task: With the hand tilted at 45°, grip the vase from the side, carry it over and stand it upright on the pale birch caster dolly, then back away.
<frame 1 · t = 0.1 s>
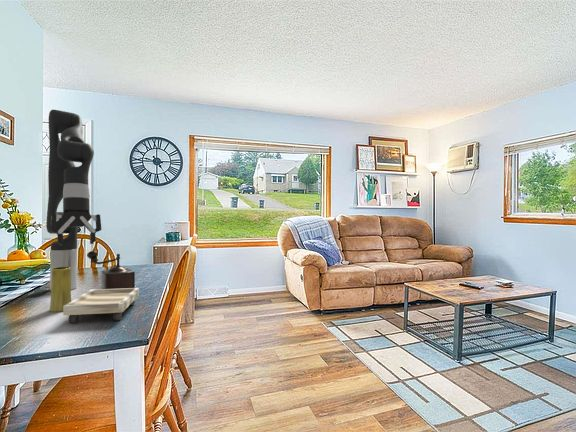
hand: (76, 244, 104), 22 cm above the table, tool pointing down, fingers open, 8 cm apart
coffee grinder: (110, 294, 124), on the table
caster dolly: (105, 313, 101), on the table
vase: (60, 309, 104), on the table
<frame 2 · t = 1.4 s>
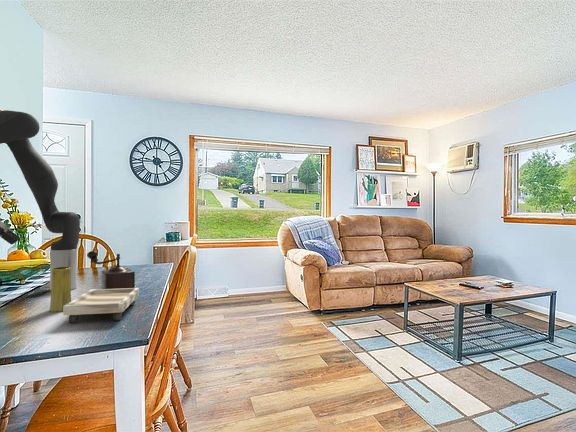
hand: (16, 241, 97), 24 cm above the table, tool tilted 45°, fingers open, 8 cm apart
nothing on the table moved.
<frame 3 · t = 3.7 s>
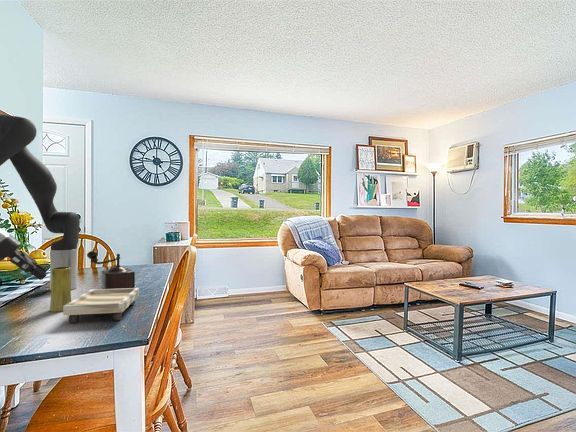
hand: (44, 275, 101), 12 cm above the table, tool tilted 45°, fingers open, 8 cm apart
nothing on the table moved.
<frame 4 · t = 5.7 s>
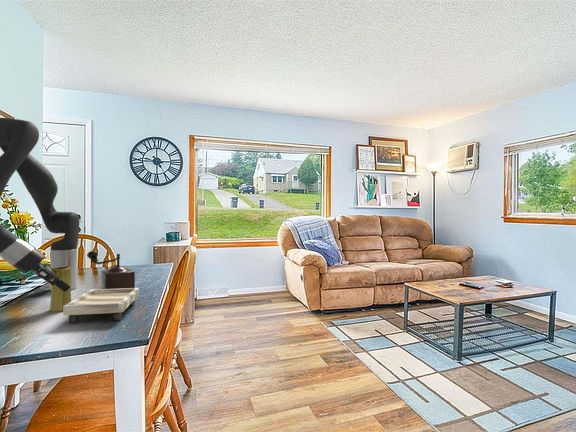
hand: (67, 287, 105), 7 cm above the table, tool tilted 45°, fingers closed on vase, 5 cm apart
vase: (60, 309, 104), on the table, touching gripper
everything else where it was.
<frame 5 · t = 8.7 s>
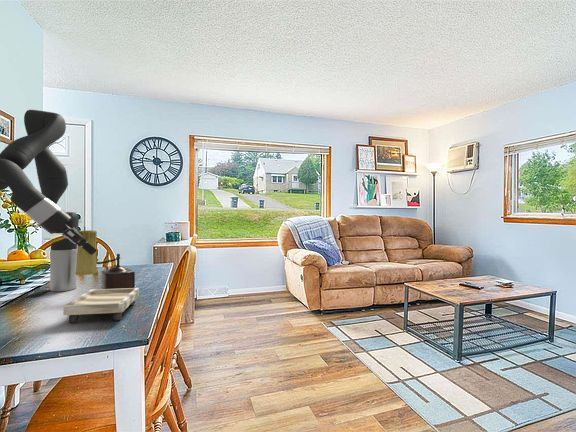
hand: (93, 251, 102), 20 cm above the table, tool tilted 45°, fingers closed on vase, 5 cm apart
vase: (86, 274, 101), point 13 cm above the table, touching gripper
everything else where it was.
when the fingers open (13 cm above the table, at t = 11.5 s): vase stays where it is, resting on caster dolly.
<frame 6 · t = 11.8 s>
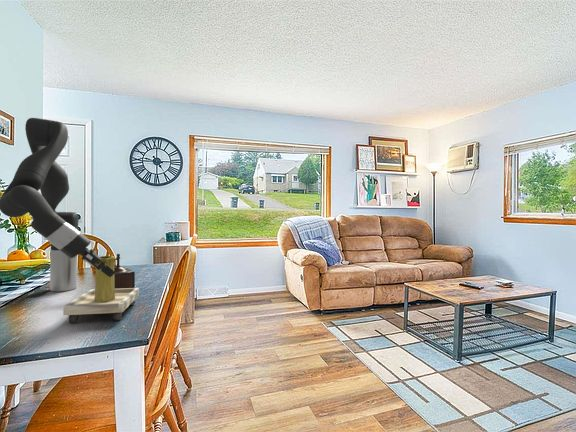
hand: (110, 272, 102), 13 cm above the table, tool tilted 45°, fingers open, 8 cm apart
vase: (104, 300, 101), point 4 cm above the table, touching caster dolly
everything else where it was.
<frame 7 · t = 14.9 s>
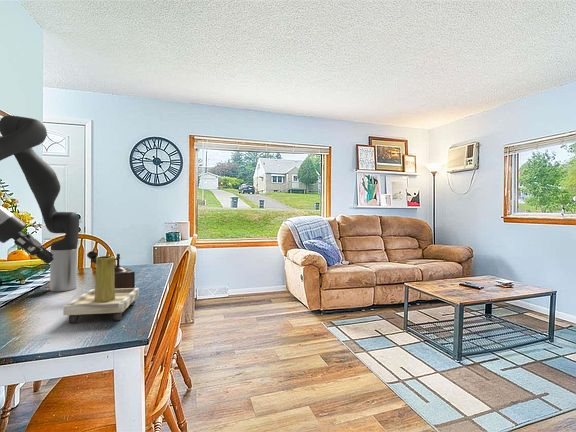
hand: (50, 259, 94), 19 cm above the table, tool tilted 45°, fingers open, 8 cm apart
nothing on the table moved.
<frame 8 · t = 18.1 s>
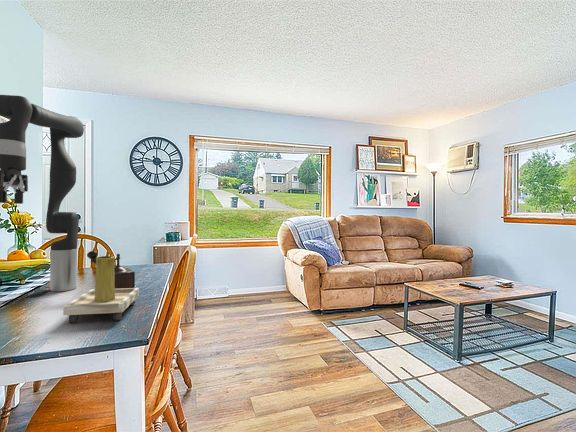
hand: (10, 203, 102), 36 cm above the table, tool pointing down, fingers open, 8 cm apart
nothing on the table moved.
at the end: vase inside the target area on the caster dolly (0.3 cm from its centre), point 4.3 cm above the caster dolly's base; vase tilted 0°; the gripper is holding nothing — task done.
